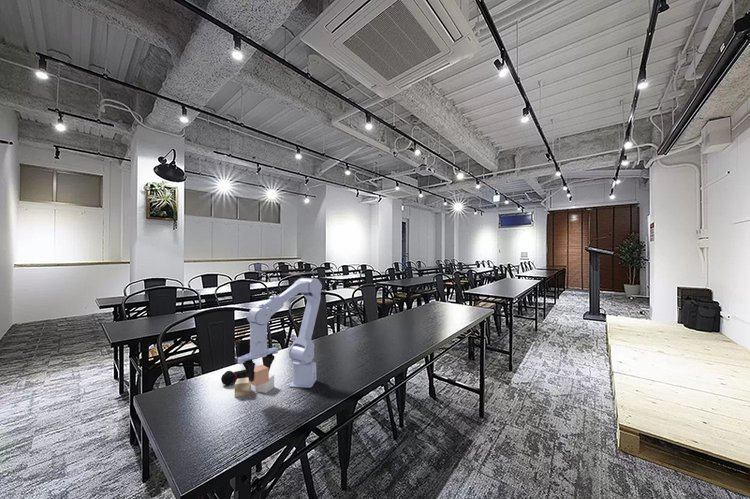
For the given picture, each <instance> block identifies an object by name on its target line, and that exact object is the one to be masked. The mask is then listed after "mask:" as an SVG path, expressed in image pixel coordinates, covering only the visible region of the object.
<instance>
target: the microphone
mask: <svg viewBox="0 0 750 499" xmlns="http://www.w3.org/2000/svg"><path fill="white" fill-rule="evenodd" d="M246 377H248V374H247V371H246V369H245V368H244V369H241V370H237V371H232V370H227V371H225V373H224V374H222V375H221V377H220V379H221V384H222V385H226V386H230V385H232V384H234V382H236V380H237V379H240V378H246Z"/></svg>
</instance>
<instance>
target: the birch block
mask: <svg viewBox="0 0 750 499" xmlns="http://www.w3.org/2000/svg"><path fill="white" fill-rule="evenodd" d="M234 382H235V383H234V398H239V397H247V396H248V397H249V396H250V393H251V390H252V384H250V383H249V378H248V377H243V378H240V379H237V380H235V381H234Z"/></svg>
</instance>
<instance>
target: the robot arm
mask: <svg viewBox="0 0 750 499" xmlns="http://www.w3.org/2000/svg"><path fill="white" fill-rule="evenodd" d="M322 288H323V285H322V283H321V281H320V280H319V278H317V277H316V278H311V277H310V278H308V277H307V278H306V277H300V278H298V279H297V280H295V281H294V283H293V284H292V285H291V286H289V287H288V288H287V289H285V290H284V291H283V292H282V293H280V294H279V295H276V294H275V295H271V296H269V297H268V299H266V301H264V302H262V303H260V304H258V306H256V307H252V308H251V309H249V311H248V313H247V315H246V320H247V321H248V323H249V346H250V347H249V353H246V354H244V355H241V356H239V357H238V356H237V364H238V365H242V366H243V367H244V370H245V369H246V371H247V374H248V375H247V378H249V381H251V382H252V381H254V368H255V367H256V363H255V362H254V360H258V359H260V358H262V360H261V361H262V365H264V366H266V367H268V368H269V371H270V369H271V367H272V364H273V362H274V361H275V357H276V356H275V355H276V354H279V348H278V347H276V346H275V347H270V348H268V323H269V322H270V320H271V317H272V316H273V315H274V314H276V313H278V311H280V310H281V309H282V308H283V307H285V306H284V305H285V303H286V302H287V301H288V300H290V299H292V298H294V297H295V296H296V295H298V294H301V295H302V296H304V297H305V300H306V304H305V305H306V306H305V309H304V313H303V317H302V320H301V321H302V322H301V325H300V329H299V332H298V336H297V338H295V339H294V340H293V341H292V345H291V346H290V348H289V350H288V356H289V358H290V359H291V362H292V382H290V384H289V385H288V387H289V388H309V389H310V388H312V387H313V386H314V384H315V383H316V382H317V380H318V379H317V362H315V361H313V360H314V356H315V344H314V342H313V341H312V338H313V333H314V329H315V324H316V319H317V316H318V312H319V307H320V303H321V298H322V297H321V296H322V295H321V292H322ZM274 354H275V355H274Z"/></svg>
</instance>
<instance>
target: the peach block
mask: <svg viewBox="0 0 750 499" xmlns="http://www.w3.org/2000/svg"><path fill="white" fill-rule="evenodd" d="M269 374H270V370H269V368H268V367H266V366H264V365H263V364H259V365H255V368H254V381H252V382H251V381H249V383H250V384H251V386H254V387H256V386H258V385H261V384H264V383H266V382H269Z"/></svg>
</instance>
